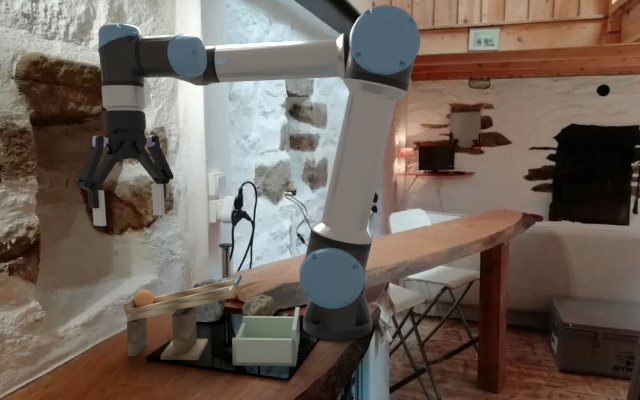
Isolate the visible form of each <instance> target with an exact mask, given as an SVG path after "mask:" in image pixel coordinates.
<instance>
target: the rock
mask: <svg viewBox="0 0 640 400" xmlns="http://www.w3.org/2000/svg"><path fill="white" fill-rule="evenodd" d="M241 310H242V314H243V316H274V314H275V313H277V308H276V302H275V299H274V297H272V295H270V296H269V295H265V294H263V293H261V294H259V295H256V296H254V297H250V298H249V299H247V300H246V301H245V303H244V304H243V305H242V309H241Z"/></svg>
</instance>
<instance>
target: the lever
mask: <svg viewBox="0 0 640 400" xmlns="http://www.w3.org/2000/svg"><path fill="white" fill-rule="evenodd" d="M242 279H243V277H242V274H237V275H233V276H230V277H229V276H228V277H224V278H222V280H221V281H219V282H218V283H214V284H209V285H205V286H201V287H197V288H193V287H192V288H188V289H185V290H181V291H175V292H172V293H167V294H163V295H158V296H153V297H154V300H153V303H152V304H151V305H146V306H142V307H137V306H136V305H135V303H134V297H135V294H134V295H132V296H131V297H130V298H129V299H128V300H127V301H125V302H124V303H122V307H123V310H124V313H125V316H126V319H127V321H132V320H137V319H141V318H145V317H146V318H149V317H154V316H157V315H163V314H166V313H170V312H174V313H175V315H176V316H177V317H179V316H181V314H182V313H183V312H184V311H185V310H186V308H189V307H193V306H197V305H202V304H206V303H210V302H215V301H219V300H223V299H226V300H227V299H231V298H232V296H233V295H234V293H235V291H236V290H237V288H238V286H239V283H240V282H241V280H242ZM175 311H176V312H175Z"/></svg>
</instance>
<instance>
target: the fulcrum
mask: <svg viewBox="0 0 640 400" xmlns="http://www.w3.org/2000/svg"><path fill="white" fill-rule="evenodd" d="M175 312H176V311H174V313H173V314H172V315H171V323H172V328H171V329H172V340H171V341H170V342H169V344H168V345H167V347H165V349H164V350H163V352H162V353H161V354H160V360H167V361H170V360H171V361H173V360H174V361H175V360H176V361H177V360H178V361H182V360H183V361H199V359H200V357H201V355H203V352H204V350H205V349H206V347H207V345H208V343H209V339H208V338H197V322H196V306H193V307H189V308H186V310H185V311H184V312H183V313H182V314H181V316H179V317H177V316H176V315H175ZM147 328H148V327H147V317H145V318H141V319H137V320H132V321H128V320H127V321H126V332H127V334H126V335H127V336H126V337H127V353H128V354H127V356H128V357H138V355H139V354H140V353H141V352H142V351H143V350H144V349H145V347H147V345H148V333H147V331H148V330H147Z"/></svg>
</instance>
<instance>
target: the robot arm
mask: <svg viewBox="0 0 640 400" xmlns="http://www.w3.org/2000/svg"><path fill="white" fill-rule="evenodd" d="M419 30H420V29H419V26H418V24H417V23H416V21H415V19H414V18H413V17H412V15H411V14H410V13H409V12H407V10H405V9H404V8H401V7H399V6H396V5H393V4H392V5H391V4H379V5H375V6H373V7H370V8H369V9H367V10H365V11H364V12H363V13H362V14H361V15H359V16H358V17H357V19H356V20H355V23H354V24H353V26H352V28H351V29H350V32H342V33H341V34H340V35H339V37H338V38H332V39H331V38H329V39H328V38H327V39H314V40H313V39H312V40H311V39H310V40H298V41H297V40H293V41H279V42H259V43H257V42H256V43H245V44H244V43H243V44H239V43H238V44H225V45H222V44H221V45H211V46H210V45H207V46H205V43H204V42H203V40H202V38H201V37H200V36H199V35H197V34H184V33H177V34H169V35H168V34H167V35H164V34H163V35H148V36H147V35H145V36H143V35H142V33H141V30H140V28H139V27H138V26H136V25H131V24H127V23H108V24H103V25H102V26H100V28H99V30H98V48H97V52H98V55H99V56H98V57H99V65H100V66H99V67H100V78H101V80H100V81H101V97H102V107H103V108H104V109H106V110H105V111H104V113H102V115H103V116H102V117H103V129H104V131H105V136H102V135H91V136H90V137H89V148H88V152H87V154H86V156H85V159H84V163H83V165H82V168H81V170H80V173H79V175H78V178H77V180H76V184H75V186H76V187H77V188H78V189H79V188H80V189H83V190H85V191H86V192H87V200H88V201H87V202H88V207H89V208H90V209H92V220H93V226H98V227H106V226H107V217H106V201H105V200H106V199H105V190H104V189H103V190H102V189H101V187H102V186H103V184H104V183H105V181H106V179H107V178H108V177H109V175H110V173H111V172H112V170H113V169H114V167H115V166H116V164H118V162H119V161H121V160H128V159H129V160H130V159H133V160H136V161H138V162H139V164H140V165H141V167H142V168H143V169H144V170H145V171H146V173H148V175H149V176H150V178H151V179H152V180H153V181H154V182H155V183H151V195H152V196H151V197H152V200H151V201H152V215H153V216H159V217H161V216H162V217H163V216H166V209H165V199H167V188H166V187H167V184H169V183H170V182H171V181H170V180H173V179H174V177H175V176H174V174H173V172H172V169H171V167H170V165H169V163H168V161H167V158H166V156H165V154H164V152H163V150H162V147H161V143H160V138H159V136H158V135H155V134H154V135H152V134H151V135H146V134H145V131H146V129H147V122H146V121H147V120H146V117H147V116H146V113H145V111H143V109H145V108H146V101H145V100H146V99H145V84H144V78H147V79H148V78H149V79H150V78H173V79H176V80H179V81H184V82H187V83H188V84H189V83H190V84H191V85H194V86H200V87H201V86H202V87H204V86H209V85H211V84H218V83H235V82H236V83H238V82H239V83H240V82H257V81H261V82H262V81H278V80H279V81H280V80H283V81H284V80H300V79H301V80H304V79H326V78H327V79H328V78H339V79H341V80H342V82H343V84H344V85H345V87H346V89H347V91H348V96H347V101H346V105H345V110H344V114H343V118H342V124H341V127H340V128H341V129H340V133H339V137H338V141H337V146H336V152H335V155H334V162H333V166H332V170H331V174H330V179H329V184H328V188H327V193H326V198H325V202H324V206H323V211H322V216H321V219H320V220H319V221H317V222H316V223H314V224H313V225H312V226H311V228H310V233H309V238H308V243H307V247H306V251H305V257H304V259H303V260H302V263H301V264H300V267H299V276H298V277H299V284H300V288H301V290H302V292H303V293H304V295H305V296H306V297H307V299H309V300H308V302H307V305H306V308H305V311H304V314H303V318H302V319H303V321H302V328H303V330H304V332H305V333H306V334H308V335H310V336H311V337H314V338H317V337H318V338H317V339H321V340H327V341H340V342H341V341H342V342H343V341H345V342H346V341H352V340H358V339H361V338H364V337H366V336H369V334H370V333H372V330H373V317H372V314H371V311H370V308H369V303H368V301H367V297H366V295H365V294H366V293H365V291H366V290H365V289H366V288H365V287H366V269H367V266H368V261H369V256H370V252H371V248H372V243H373V238H372V237H371V236H370V233H369V232H368V230H367V229H368V225H369V220H370V216H371V212H372V207H373V202H374V199H375V194H376V190H377V185H378V181H379V177H380V173H381V172H380V171H381V167H382V163H383V160H384V156H385V155H384V154H385V152H386V147H387V142H388V139H389V138H388V137H389V133H390V131H391V130H390V129H391V125H392V121H393V115H394V112H395V107H396V103H397V102H398V101H399V100H400V99H401V98H403V97H405V96H406V95H407V93H408V89H409V85H410V81H411V76H412V72H413V69H414V65H415V60H416V57H418V53H419V52H420V47H421V35H420V31H419ZM145 146H146V147H147V149H146V148H145ZM105 147H107V150H106V152H105V154H104V155H103V152H104V148H105ZM147 150H148V151H149V152H148V151H147ZM102 155H103V159H102ZM101 159H102V160H101ZM100 161H101V162H100Z"/></svg>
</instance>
